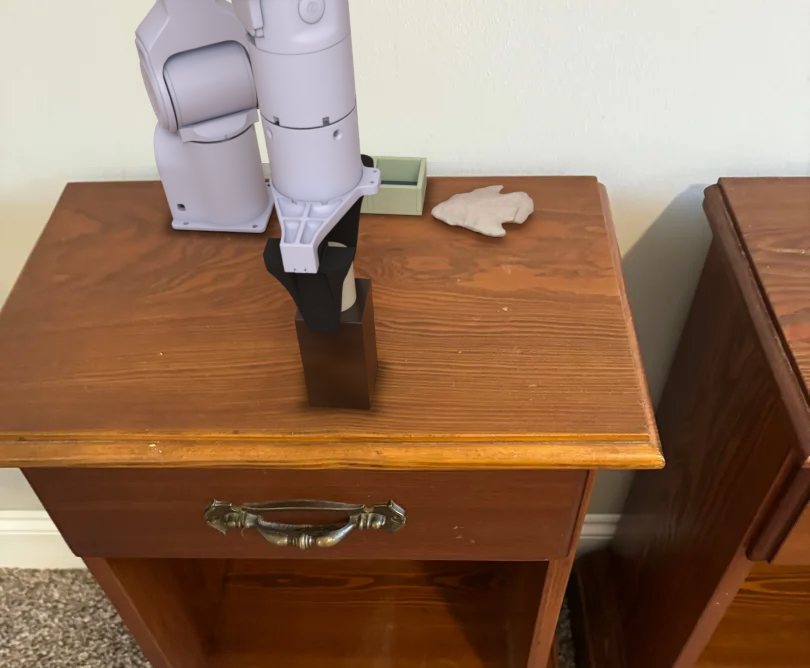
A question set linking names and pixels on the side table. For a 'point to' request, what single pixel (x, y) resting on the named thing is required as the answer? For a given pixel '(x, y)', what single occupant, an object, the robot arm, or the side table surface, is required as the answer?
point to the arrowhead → (485, 210)
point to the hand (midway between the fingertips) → (332, 293)
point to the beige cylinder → (347, 284)
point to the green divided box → (398, 186)
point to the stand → (342, 355)
